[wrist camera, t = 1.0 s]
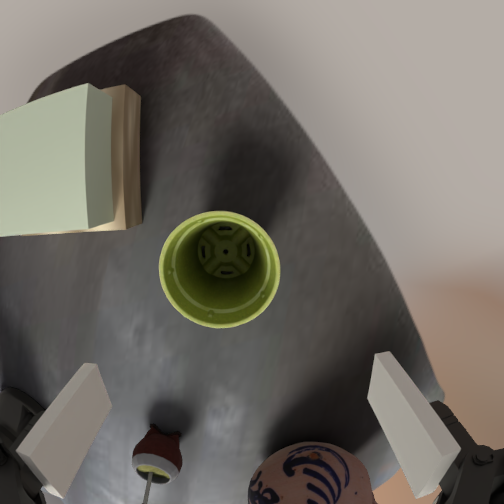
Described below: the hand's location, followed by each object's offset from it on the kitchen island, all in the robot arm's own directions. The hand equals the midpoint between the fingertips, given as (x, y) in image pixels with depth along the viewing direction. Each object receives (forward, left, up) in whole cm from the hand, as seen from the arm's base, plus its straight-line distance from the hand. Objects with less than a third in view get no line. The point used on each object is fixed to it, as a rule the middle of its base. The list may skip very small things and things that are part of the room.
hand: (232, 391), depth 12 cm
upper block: (-18, +12, -15) cm, 26 cm away
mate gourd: (-12, -27, -20) cm, 36 cm away
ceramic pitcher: (+11, -32, -20) cm, 39 cm away
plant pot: (-1, +2, -20) cm, 20 cm away
